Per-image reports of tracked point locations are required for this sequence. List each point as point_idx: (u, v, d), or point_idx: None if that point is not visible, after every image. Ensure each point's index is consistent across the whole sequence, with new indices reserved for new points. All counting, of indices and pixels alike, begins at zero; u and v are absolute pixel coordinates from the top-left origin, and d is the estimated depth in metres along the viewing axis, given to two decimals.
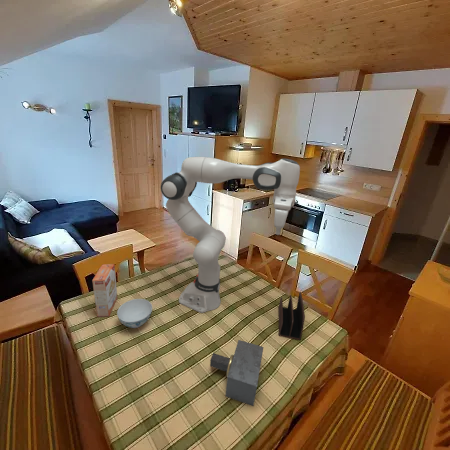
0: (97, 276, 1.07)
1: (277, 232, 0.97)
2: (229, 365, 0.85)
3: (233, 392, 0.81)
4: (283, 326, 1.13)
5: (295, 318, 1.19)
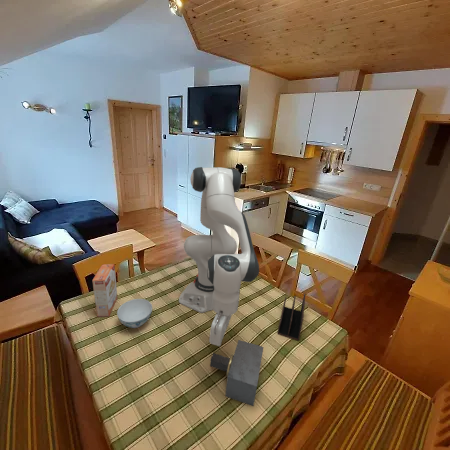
0: (97, 276, 1.07)
1: None
2: (229, 365, 0.85)
3: (233, 392, 0.81)
4: (283, 325, 1.14)
5: (297, 319, 1.18)
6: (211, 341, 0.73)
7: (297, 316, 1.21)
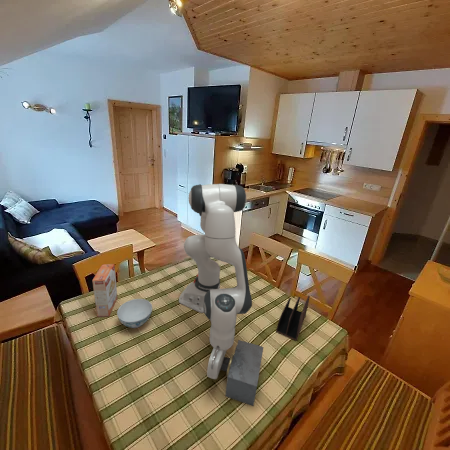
0: (97, 276, 1.07)
1: None
2: (229, 365, 0.85)
3: (233, 392, 0.81)
4: (283, 324, 1.14)
5: None
6: (208, 375, 0.78)
7: (300, 317, 1.20)
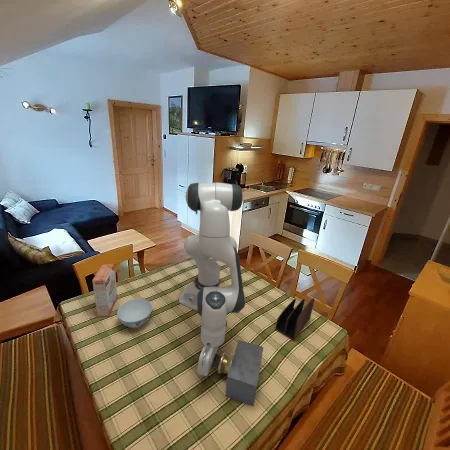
0: (97, 276, 1.07)
1: None
2: (220, 362, 0.86)
3: (233, 392, 0.81)
4: (284, 324, 1.15)
5: None
6: (199, 372, 0.79)
7: None
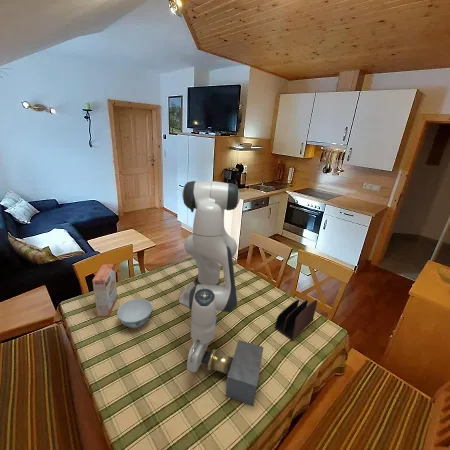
0: (97, 276, 1.07)
1: None
2: (210, 359, 0.87)
3: (233, 392, 0.81)
4: (284, 323, 1.15)
5: None
6: (188, 368, 0.80)
7: None
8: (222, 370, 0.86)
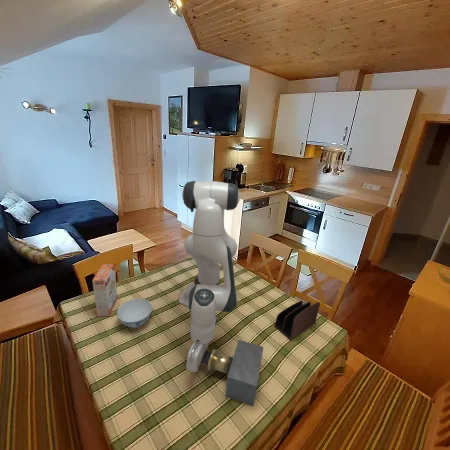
0: (97, 276, 1.07)
1: None
2: (210, 359, 0.87)
3: (233, 392, 0.81)
4: None
5: None
6: (188, 368, 0.80)
7: None
8: (222, 370, 0.86)
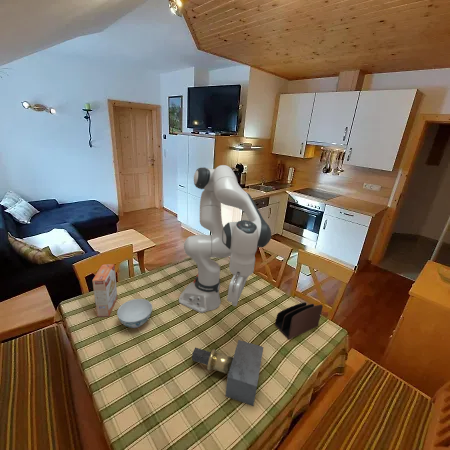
0: (97, 276, 1.07)
1: None
2: (210, 359, 0.87)
3: (233, 392, 0.81)
4: None
5: None
6: (229, 299, 0.78)
7: None
8: (222, 370, 0.86)
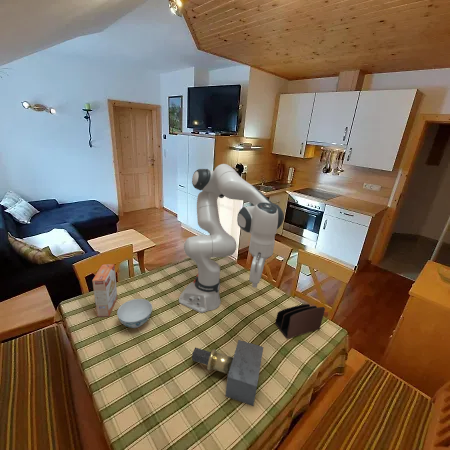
0: (97, 276, 1.07)
1: None
2: (210, 359, 0.87)
3: (233, 392, 0.81)
4: None
5: None
6: (251, 279, 0.80)
7: None
8: (222, 370, 0.86)
